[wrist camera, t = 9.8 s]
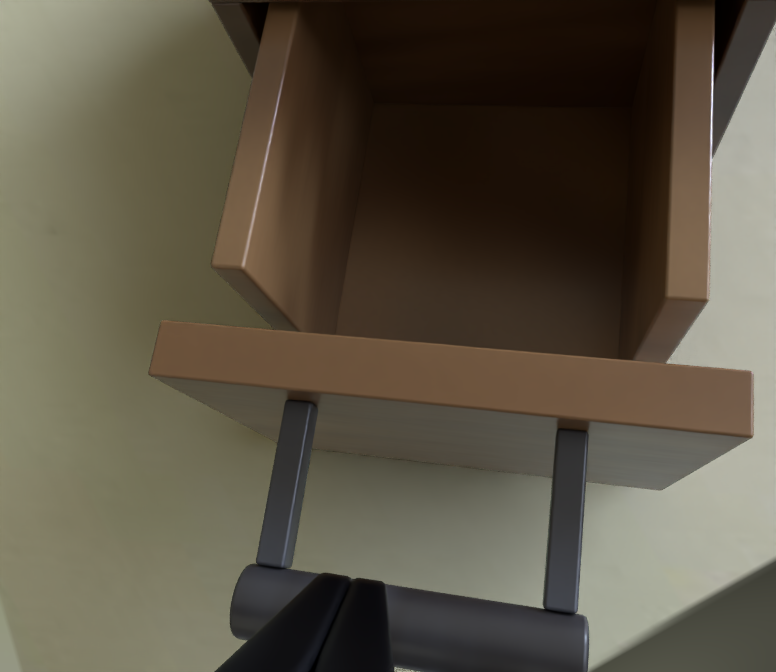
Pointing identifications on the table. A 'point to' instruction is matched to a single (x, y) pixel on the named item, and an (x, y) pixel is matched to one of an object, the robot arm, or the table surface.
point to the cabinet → (731, 44)
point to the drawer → (470, 277)
